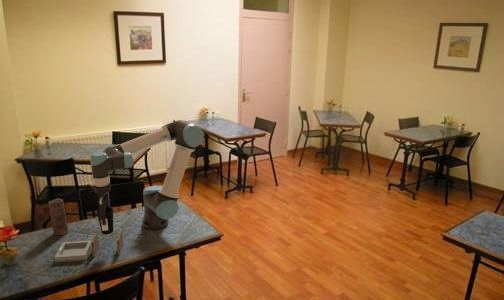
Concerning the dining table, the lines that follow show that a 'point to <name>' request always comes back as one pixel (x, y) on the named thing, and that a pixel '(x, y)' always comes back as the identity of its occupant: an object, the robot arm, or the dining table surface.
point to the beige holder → (96, 243)
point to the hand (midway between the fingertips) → (106, 225)
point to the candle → (58, 216)
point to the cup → (109, 220)
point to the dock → (73, 251)
